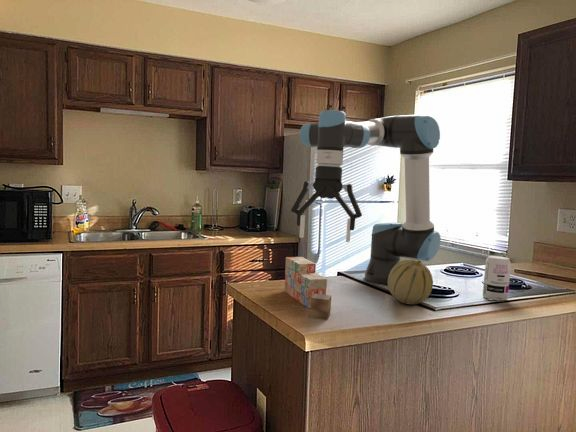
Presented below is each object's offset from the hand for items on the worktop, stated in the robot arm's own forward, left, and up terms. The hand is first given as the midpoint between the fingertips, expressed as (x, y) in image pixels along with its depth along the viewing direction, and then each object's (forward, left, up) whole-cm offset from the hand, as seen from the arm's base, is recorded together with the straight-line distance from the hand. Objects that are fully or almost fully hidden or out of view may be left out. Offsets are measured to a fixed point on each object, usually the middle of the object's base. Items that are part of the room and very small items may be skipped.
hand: (324, 239), depth 139 cm
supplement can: (-55, -46, -23) cm, 75 cm away
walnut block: (0, 0, -23) cm, 23 cm away
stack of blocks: (+9, -17, -23) cm, 30 cm away
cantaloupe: (-25, -26, -23) cm, 43 cm away
